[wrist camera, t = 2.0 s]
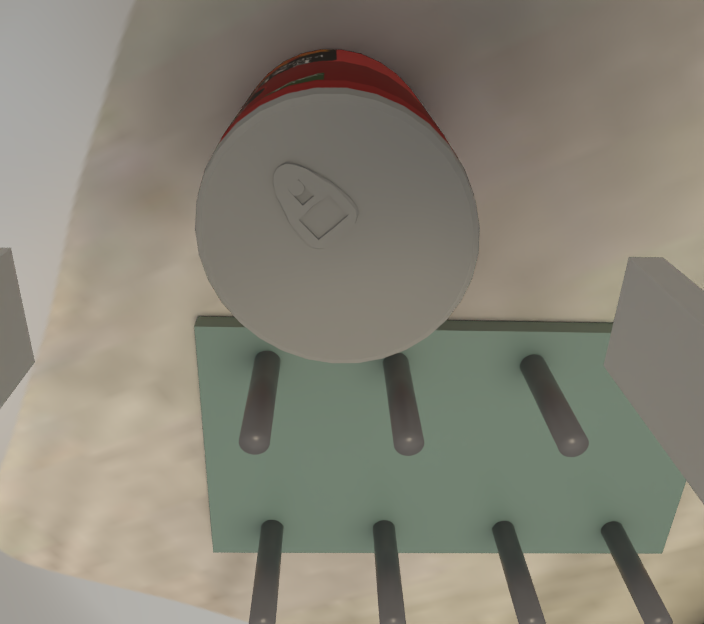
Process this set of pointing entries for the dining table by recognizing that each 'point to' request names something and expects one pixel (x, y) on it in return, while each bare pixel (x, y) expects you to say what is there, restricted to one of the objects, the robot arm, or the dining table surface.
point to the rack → (433, 456)
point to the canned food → (337, 213)
